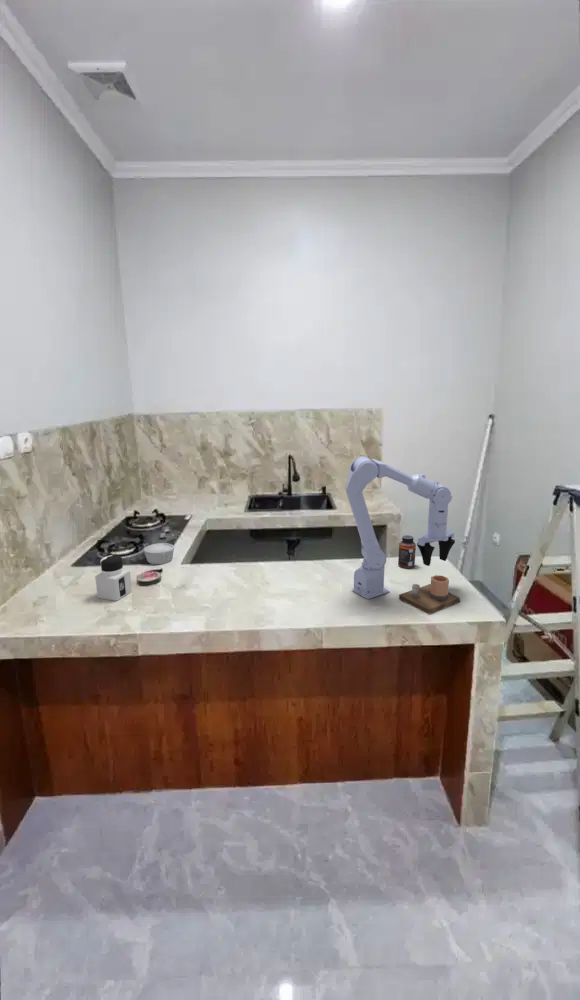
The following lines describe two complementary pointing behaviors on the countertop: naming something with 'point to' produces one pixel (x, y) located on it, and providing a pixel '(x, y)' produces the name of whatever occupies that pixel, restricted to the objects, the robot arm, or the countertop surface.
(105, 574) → the container
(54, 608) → the countertop surface
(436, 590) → the sleeve
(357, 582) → the robot arm
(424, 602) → the pin board
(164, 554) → the ramekin
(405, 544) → the supplement bottle
